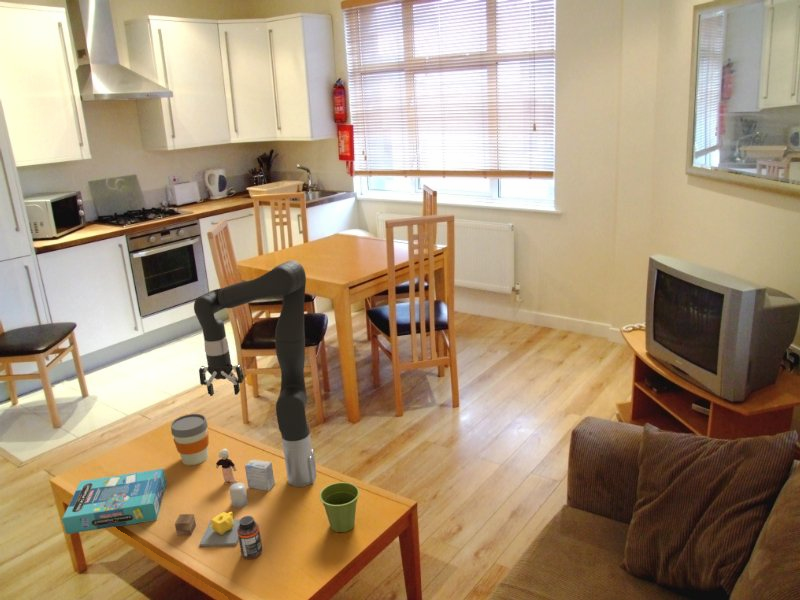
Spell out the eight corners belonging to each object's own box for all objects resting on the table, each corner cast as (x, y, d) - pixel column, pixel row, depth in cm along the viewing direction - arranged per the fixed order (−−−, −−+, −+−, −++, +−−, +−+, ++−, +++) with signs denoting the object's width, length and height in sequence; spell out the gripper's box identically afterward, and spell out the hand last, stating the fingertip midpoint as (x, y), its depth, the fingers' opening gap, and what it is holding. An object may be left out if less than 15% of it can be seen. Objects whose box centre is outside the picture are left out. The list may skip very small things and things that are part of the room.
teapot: (219, 542, 195) (217, 527, 194) (207, 534, 199) (204, 520, 197) (241, 527, 201) (238, 512, 199) (229, 520, 205) (226, 506, 203)
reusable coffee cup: (186, 449, 249) (179, 413, 244) (218, 449, 247) (212, 413, 242) (171, 467, 237) (163, 430, 232) (204, 468, 235) (197, 431, 231)
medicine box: (275, 484, 223) (272, 461, 220) (268, 491, 219) (265, 468, 216) (254, 480, 226) (251, 458, 223) (248, 488, 222) (244, 465, 219)
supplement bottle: (243, 547, 194) (237, 514, 190) (263, 544, 194) (258, 512, 190) (240, 561, 188) (234, 527, 184) (261, 558, 188) (255, 525, 185)
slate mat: (246, 521, 205) (245, 519, 205) (236, 545, 195) (236, 542, 194) (211, 522, 206) (210, 520, 205) (199, 546, 195) (199, 544, 195)
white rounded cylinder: (249, 498, 216) (246, 482, 215) (245, 507, 212) (242, 491, 210) (234, 498, 217) (231, 482, 215) (230, 508, 212) (227, 492, 210)
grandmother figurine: (241, 478, 227) (236, 446, 223) (238, 485, 224) (232, 452, 220) (220, 479, 228) (214, 446, 224) (216, 485, 225) (210, 452, 221)
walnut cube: (196, 526, 205) (193, 513, 203) (191, 535, 200) (188, 523, 199) (182, 526, 205) (179, 514, 204) (177, 535, 201) (174, 523, 199)
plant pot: (348, 542, 192) (345, 509, 189) (315, 531, 198) (311, 499, 194) (370, 519, 202) (367, 487, 198) (337, 509, 208) (334, 478, 204)
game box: (167, 483, 228) (84, 496, 224) (163, 467, 225) (80, 480, 222) (157, 520, 208) (66, 535, 205) (153, 503, 206) (61, 518, 203)
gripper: (241, 345, 224) (247, 388, 230) (199, 347, 225) (207, 390, 230) (235, 353, 217) (242, 398, 222) (192, 355, 218) (200, 400, 223)
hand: (224, 394), depth 226 cm, fingers open, 8 cm apart
